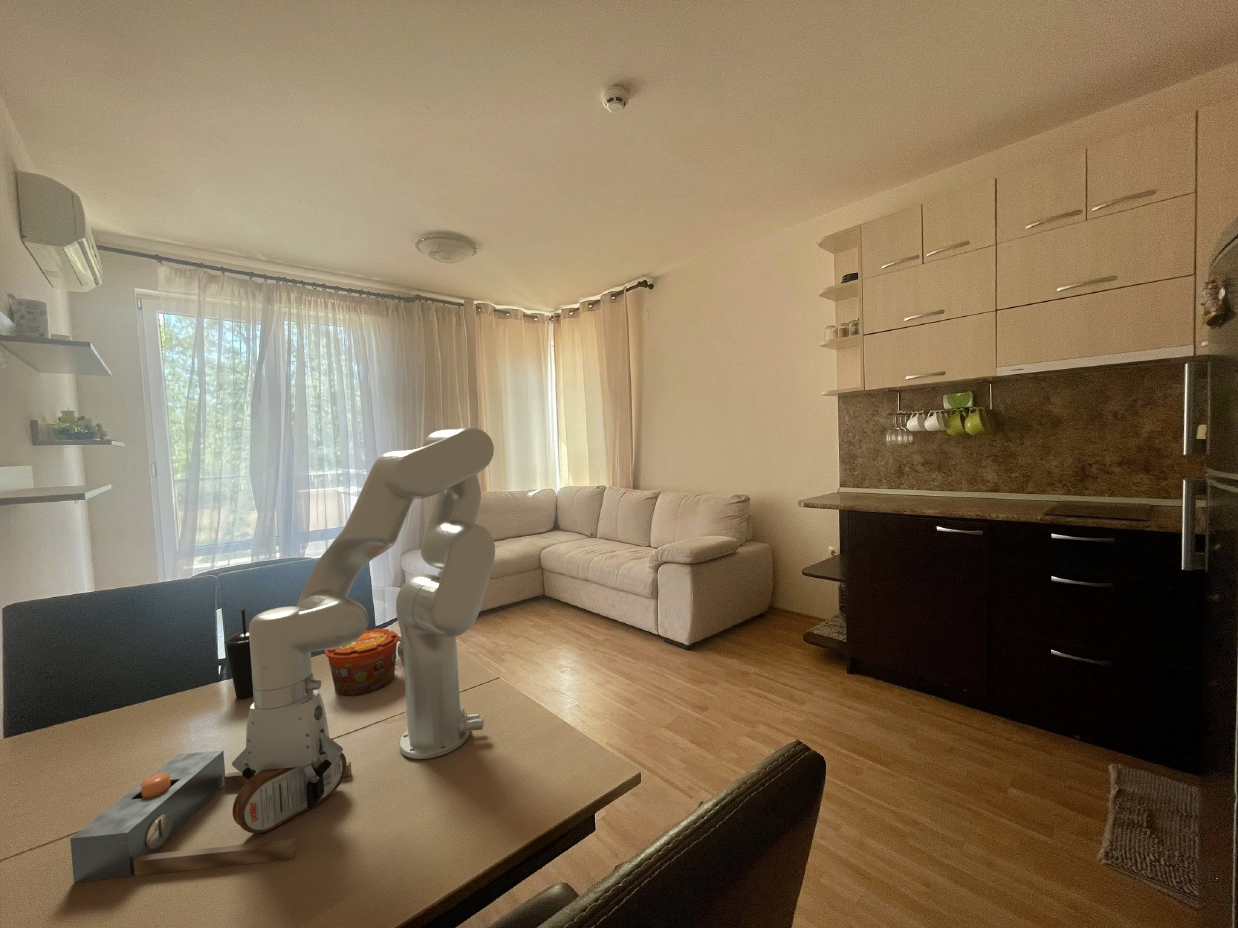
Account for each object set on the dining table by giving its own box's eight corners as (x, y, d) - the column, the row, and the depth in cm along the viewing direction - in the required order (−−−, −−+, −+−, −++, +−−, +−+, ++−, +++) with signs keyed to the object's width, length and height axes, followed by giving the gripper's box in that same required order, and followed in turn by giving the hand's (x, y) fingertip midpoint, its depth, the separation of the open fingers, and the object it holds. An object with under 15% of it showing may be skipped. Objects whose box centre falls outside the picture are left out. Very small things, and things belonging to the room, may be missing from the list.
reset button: (177, 790, 76) (175, 771, 76) (159, 805, 73) (158, 785, 73) (154, 792, 76) (153, 773, 76) (136, 807, 73) (134, 787, 73)
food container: (336, 707, 108) (333, 659, 108) (320, 683, 120) (317, 640, 120) (411, 682, 119) (408, 638, 119) (389, 662, 131) (386, 622, 130)
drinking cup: (236, 689, 119) (231, 607, 118) (273, 683, 121) (268, 603, 120) (222, 704, 112) (215, 617, 111) (261, 698, 114) (255, 612, 113)
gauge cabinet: (228, 784, 84) (226, 749, 84) (134, 875, 66) (131, 832, 66) (181, 788, 83) (179, 753, 83) (73, 881, 65) (70, 838, 65)
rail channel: (351, 772, 86) (350, 761, 86) (291, 858, 68) (291, 844, 68) (229, 784, 84) (228, 772, 84) (134, 875, 66) (133, 861, 66)
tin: (342, 781, 84) (338, 732, 83) (351, 787, 82) (347, 737, 82) (234, 840, 71) (229, 783, 71) (241, 849, 70) (236, 790, 69)
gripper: (353, 674, 80) (360, 782, 81) (240, 683, 79) (247, 793, 79) (331, 697, 73) (338, 816, 73) (205, 708, 71) (214, 829, 72)
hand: (291, 803), depth 76 cm, fingers open, 6 cm apart
